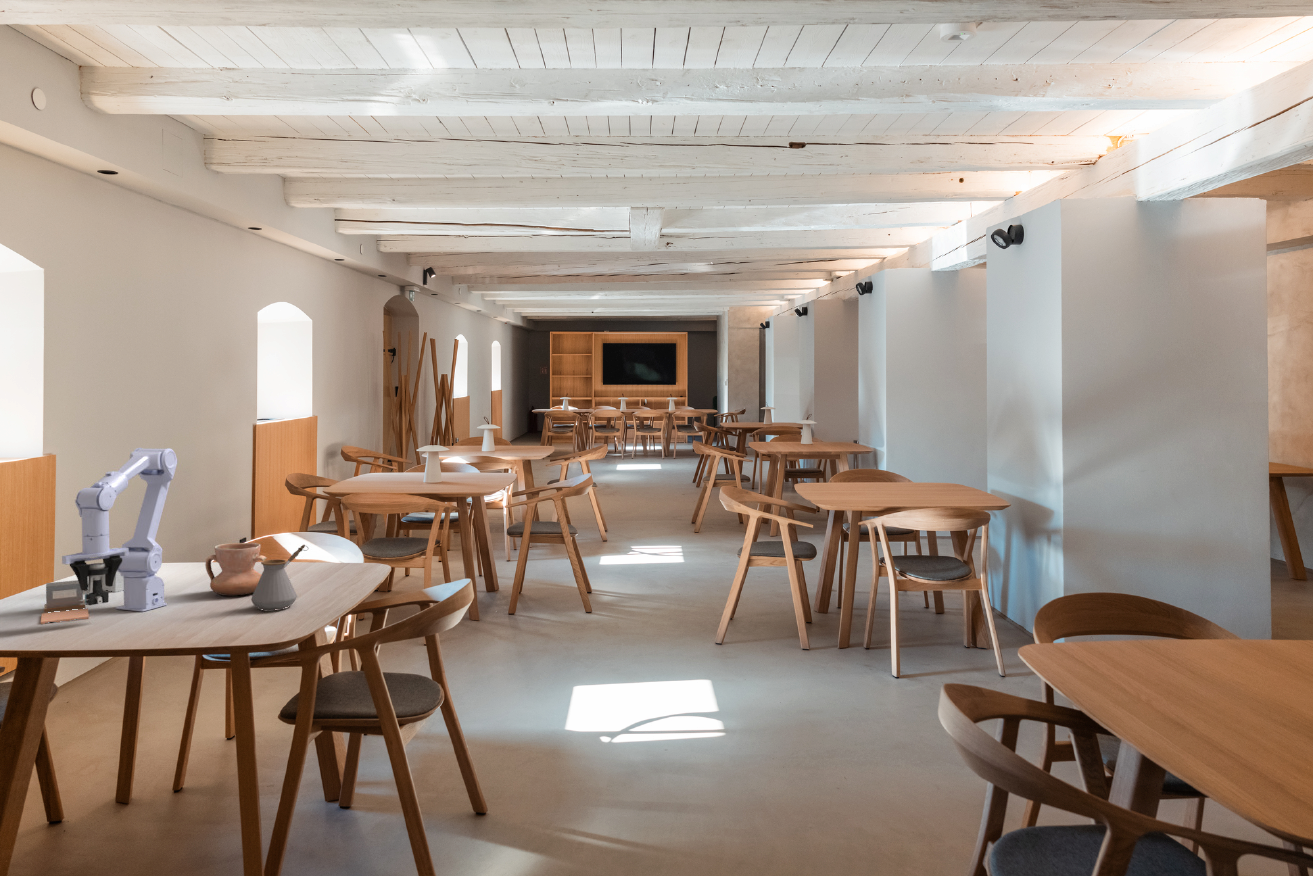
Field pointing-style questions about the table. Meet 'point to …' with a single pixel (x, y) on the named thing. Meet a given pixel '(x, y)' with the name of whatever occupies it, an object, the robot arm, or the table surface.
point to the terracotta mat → (64, 615)
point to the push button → (96, 585)
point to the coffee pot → (275, 585)
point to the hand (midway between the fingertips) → (96, 588)
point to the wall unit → (63, 596)
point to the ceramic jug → (235, 568)
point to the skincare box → (115, 583)
